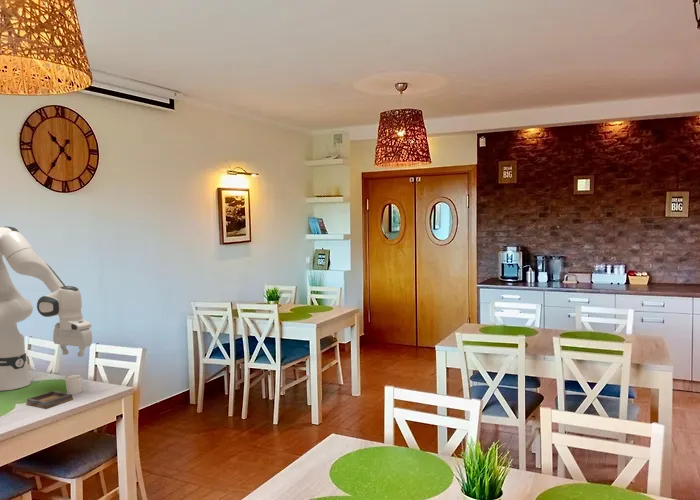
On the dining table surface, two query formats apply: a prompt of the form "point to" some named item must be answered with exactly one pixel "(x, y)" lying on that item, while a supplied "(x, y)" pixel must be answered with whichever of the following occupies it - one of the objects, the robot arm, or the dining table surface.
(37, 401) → the tray
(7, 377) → the robot arm
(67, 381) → the white cup
